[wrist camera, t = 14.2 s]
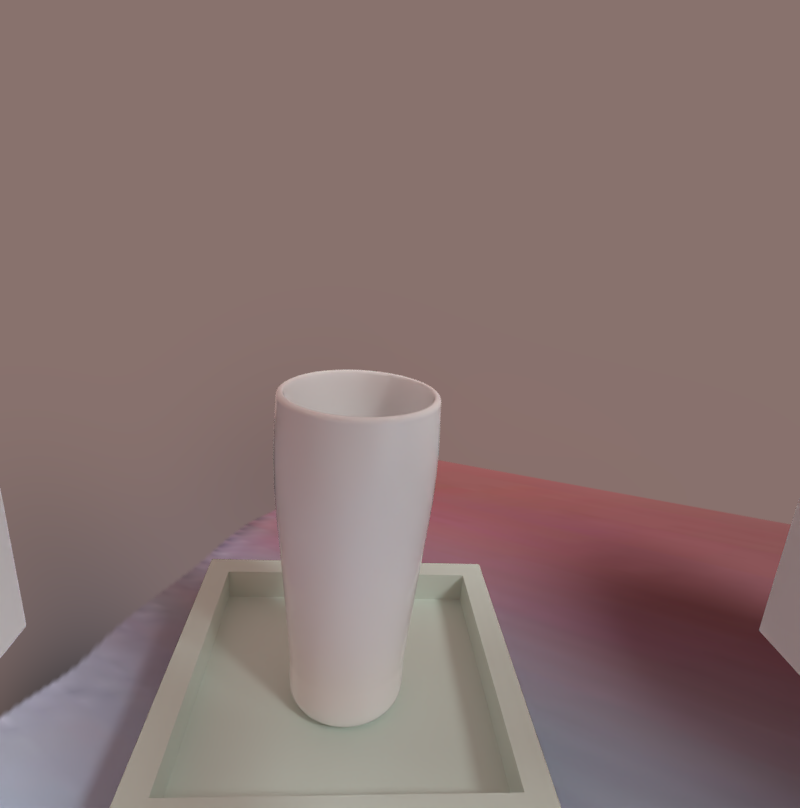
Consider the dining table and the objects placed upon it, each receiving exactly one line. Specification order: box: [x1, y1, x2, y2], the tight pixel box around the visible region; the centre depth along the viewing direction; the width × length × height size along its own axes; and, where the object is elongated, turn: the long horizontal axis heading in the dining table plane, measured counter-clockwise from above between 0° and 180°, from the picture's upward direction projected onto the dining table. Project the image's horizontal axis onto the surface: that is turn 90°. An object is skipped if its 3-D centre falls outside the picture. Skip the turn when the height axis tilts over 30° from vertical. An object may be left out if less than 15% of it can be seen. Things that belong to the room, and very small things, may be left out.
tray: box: [110, 559, 561, 808], centre depth 28 cm, size 16×16×2 cm
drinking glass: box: [273, 370, 441, 727], centre depth 26 cm, size 7×7×15 cm
